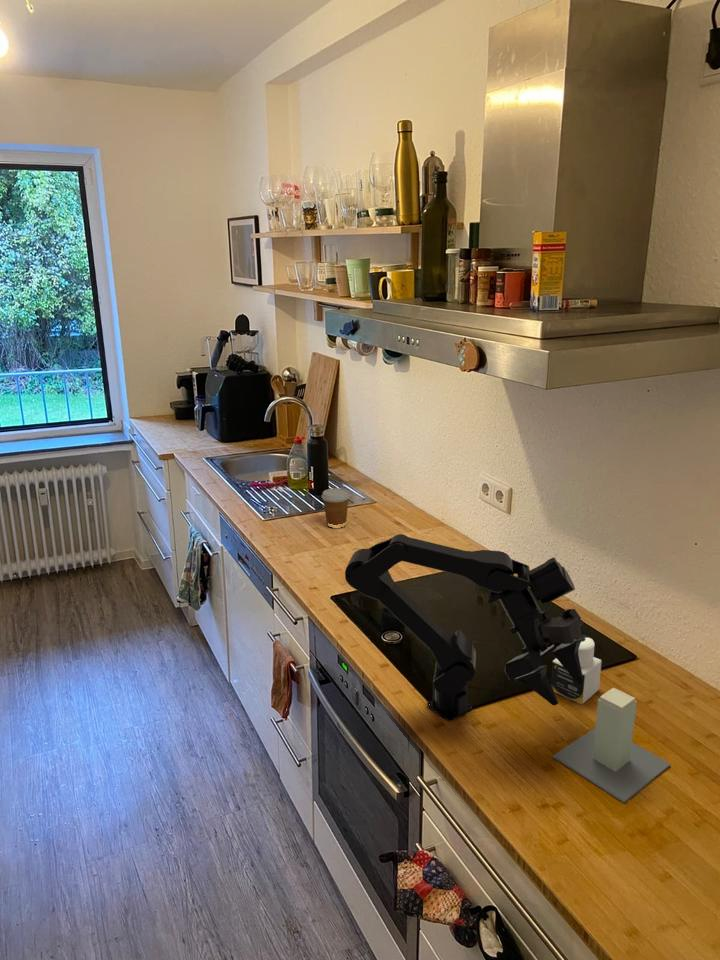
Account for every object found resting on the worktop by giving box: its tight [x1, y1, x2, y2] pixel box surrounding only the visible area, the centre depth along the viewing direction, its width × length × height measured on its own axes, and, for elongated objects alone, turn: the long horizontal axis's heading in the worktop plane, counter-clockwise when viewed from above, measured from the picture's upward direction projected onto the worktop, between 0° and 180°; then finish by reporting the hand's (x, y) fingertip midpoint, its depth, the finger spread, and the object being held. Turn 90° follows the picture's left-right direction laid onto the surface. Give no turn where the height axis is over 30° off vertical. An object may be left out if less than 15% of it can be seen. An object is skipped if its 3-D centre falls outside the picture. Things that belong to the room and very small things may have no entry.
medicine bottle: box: [550, 634, 603, 705], centre depth 140 cm, size 7×7×12 cm
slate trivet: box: [552, 727, 671, 804], centre depth 121 cm, size 14×14×1 cm
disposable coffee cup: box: [321, 487, 351, 525], centre depth 234 cm, size 10×10×12 cm
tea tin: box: [593, 687, 638, 772], centre depth 119 cm, size 4×4×13 cm
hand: (569, 693), depth 124 cm, fingers open, 9 cm apart
